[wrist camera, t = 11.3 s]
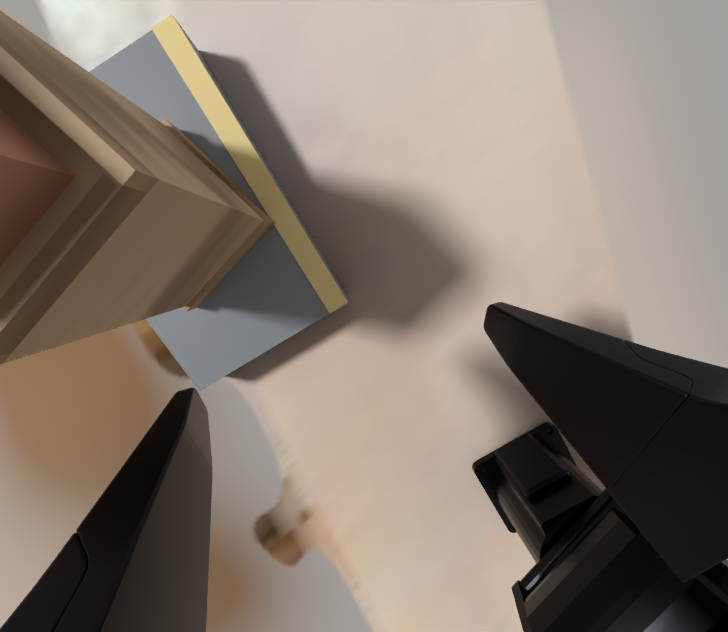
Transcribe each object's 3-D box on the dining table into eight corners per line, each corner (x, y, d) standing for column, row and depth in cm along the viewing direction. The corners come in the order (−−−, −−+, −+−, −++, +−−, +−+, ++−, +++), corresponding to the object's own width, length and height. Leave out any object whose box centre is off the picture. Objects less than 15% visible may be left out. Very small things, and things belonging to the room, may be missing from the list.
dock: (347, 297, 21) (347, 302, 18) (217, 375, 21) (198, 391, 18) (197, 49, 18) (172, 14, 15) (50, 146, 18) (1, 128, 16)
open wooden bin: (275, 222, 17) (150, 169, 6) (196, 308, 18) (-34, 387, 7) (178, 128, 16) (-163, -120, 5) (98, 222, 17) (-343, 167, 6)
